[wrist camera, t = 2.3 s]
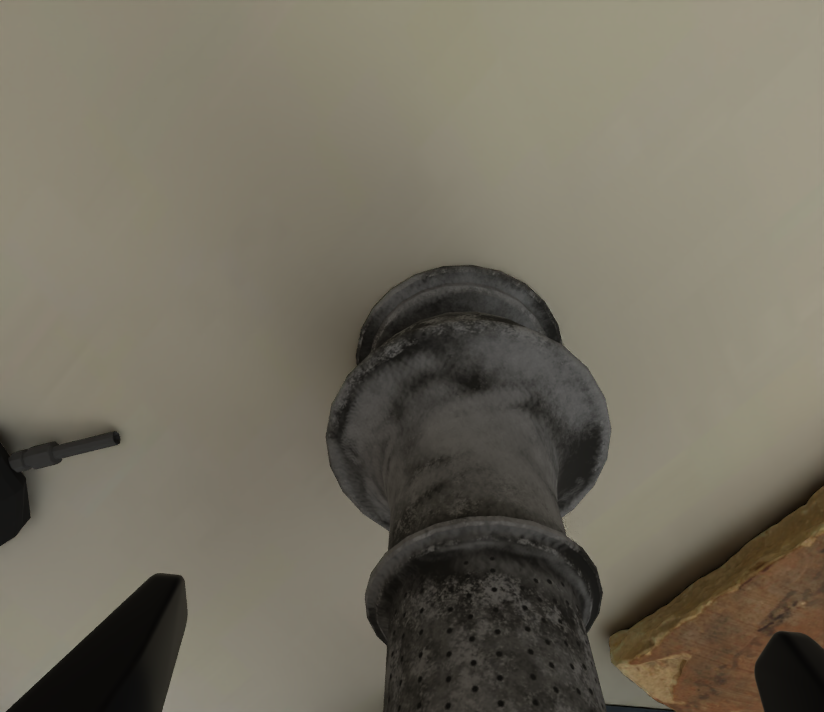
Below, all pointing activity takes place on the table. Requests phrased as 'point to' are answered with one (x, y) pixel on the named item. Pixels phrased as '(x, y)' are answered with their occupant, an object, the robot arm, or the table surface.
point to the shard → (731, 620)
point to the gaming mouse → (6, 485)
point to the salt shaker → (474, 494)
